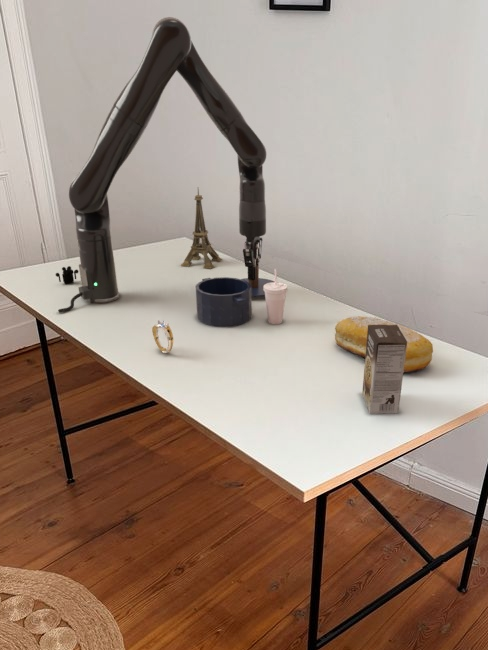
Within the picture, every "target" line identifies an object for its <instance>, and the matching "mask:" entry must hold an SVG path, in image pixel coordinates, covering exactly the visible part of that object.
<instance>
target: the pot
mask: <svg viewBox="0 0 488 650" xmlns="http://www.w3.org/2000/svg"><path fill="white" fill-rule="evenodd" d="M242 279H243V278H238V277H230V276H229V277H227V276H223V277H206V278H201V280H200V281H199V282H198V283H197V284H196V285H195V298H196V299H195V301H196V316H197V320H198V321H199V322H200V323H202V324H204V325H205V326H209V327H215V328H231V327H238V326H241V325H245V324H246V323H248V322H249V321H250V320H251V319H252V316H253V306H252V305H253V304H252V301H253V300H252V298H253V297H252V292H251V285H250V283H249V282H247V281H245V280H242Z"/></svg>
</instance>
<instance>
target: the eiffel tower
mask: <svg viewBox="0 0 488 650" xmlns="http://www.w3.org/2000/svg"><path fill="white" fill-rule="evenodd" d="M203 199H204V197H203V195H200V189H199V188H197V194H196V195H195V196H194V198H193V200H194V201H196V203H195V221H194V231H192V235H193V238H192V244H191V246H190V250H189V251H188V253H187V256H185V259H184V260H183V262H182V263H181V264H180V266H181V267H188V268H189V267H190V266H192V265H193V263H192V260H197V261H198V260H200V258H201V255H202V256H203V262H204V265H203V269H207V270H213V268H214V267H215V265H214V264H213V262H214V263H215V262H216V263H220V262H222V261H223V258H222V257H220V255H219V253H217V252H216V250H215V249H214V247H212V243H210V241H209V236H208V234H209V231H208V229H207V228H206V223H205V217H204V211H203V204H202V200H203ZM200 240H201V241H200ZM200 242H201V243H200ZM200 254H201V255H200ZM208 254H209V256H210V257H211V259H210V257H209V256H208Z"/></svg>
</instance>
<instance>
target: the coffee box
mask: <svg viewBox="0 0 488 650" xmlns="http://www.w3.org/2000/svg"><path fill="white" fill-rule="evenodd" d="M406 349H407V341H406V339H405V337H404V336H403V334H402V332H401V331H400V329H399V327H398V326H397V325H368V332H367V344H366V356H365V358H364V368H363V381H362V393H361V395H362V397H363V400H364V402H365V405H366V407H367V410H368V413H369V414H371V415H373V414H375V415H376V414H377V415H378V414H398V413H399V409H400V400H401V393H402V387H403V386H402V385H403V380H404V373H405V372H404V365H405V357H406Z"/></svg>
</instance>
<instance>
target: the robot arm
mask: <svg viewBox="0 0 488 650" xmlns="http://www.w3.org/2000/svg"><path fill="white" fill-rule="evenodd" d="M153 27H154V28H153V30H152V35H151V38H150V41H149V44H148V46H147V48H146V51H145V53H144V56H143V58H142V59H141V62H140V64H139V66H138V68H137V70H135V72H134V74H133V75H132V76H131V78H130V79H129V80H128V82H127V83H125V85H124V87H123V88H122V90H121V91H120V92H119V94H118V96H116V99H115V101H114V102H113V103H112V106H111V108H110V109H109V112H108V114H107V115H106V118H105V119H104V122H103V124H102V126H101V128H100V130H99V133H98V136H97V138H96V142H95V143H94V147H93V149H92V150H91V151H92V152H91V154H90V156H89V157H88V159H87V160H86V162H85V164H84V165H83V167H82V168H81V170H79V171H80V172H78V174H76V175H75V176H74V178H73V179H72V181H71V182H70V184H69V186H68V190H67V191H68V200H69V202H70V204H71V206H72V208H73V210H74V216H75V217H74V218H75V227H74V228H75V235H76V241H77V248H78V255H79V261H80V263H79V264H78V271H79V276H80V282H81V286H78V293H77V294H76V295H74V296H73V297H72V298H71V300H70V305H69V306H68V307H64V308H58V309H57V311H58V313H65V312H69V311H71V310H73V308H74V306H75V301H76V300H77V299H78V298H80V297H81V298H82V299H83V300H86V301H87V302H88V303H89V304H105V303H111V302H114V301H116V300H118V299H119V298H120V293H119V287H118V279H117V272H116V263H115V256H114V248H113V239H112V232H111V216H110V205H109V197H108V192H109V190H110V187H111V185H112V183H113V180H114V178H115V176H116V175H117V173H118V171H119V170H120V169H121V167H122V166H123V165H124V163H125V162H126V161H127V159H128V158H129V157H130V155H131V154H132V152H133V151H134V149H135V148H136V146H137V145H138V144H139V142H140V140H141V138H142V137H143V134H144V133H145V131H146V130H147V128H148V126H149V124H150V121H151V120H152V118H153V115H154V114H155V112H156V109H157V107H158V105H159V102H160V100H161V97H162V95H163V93H164V90H165V89H166V88H167V86H168V84H169V82H170V81H171V79H172V78H173V76H174V75H175V73H176V72H177V73H178V74H179V75H180V76H181V77H182V79H183V81H185V83H186V84H187V85H188V87H189V88H190V90H191V91H192V93H193V94H194V96H195V97H196V98H197V100H198V102H199V103H200V105H201V107H202V108H203V110H204V111H205V113H206V115H207V116H208V118H209V119H210V121H211V122H212V123H213V124H214V126H215V127H216V129H217V130H218V131H219V132H220V134H221V135H222V136H223V137H224V138H225V139H226V140H227V142H228V143H229V144H230V146H231V147H232V149H233V150H234V152H235V153H236V155H237V157H236V158H237V166H238V167H237V168H238V175H239V202H238V203H239V204H238V224H239V225H238V226H239V227H238V229H239V234H240V235H241V236H243V237H245V241H244V248H243V249H242V254H243V261H244V267H245V268H247V278H248V280H255V279H256V265H258V268H259V267H260V265H259V264H260V261H261V259H262V248H263V236H265V235H266V234H267V204H266V183H265V179H264V175H263V174H264V172H263V169H264V167H263V165H264V164H265V163H266V160H267V148H266V146H265V144H264V143H263V141H262V140H261V139H260V137H259V136H258V134H256V133H255V131H254V130H253V129H252V127H251V126H250V125H249V124H248V122H247V121H246V119H245V117H244V115H243V114H242V112H241V111H240V110H239V108H238V107H237V105H236V104H235V102H234V101H233V100H232V98H231V97H230V95H229V94H228V93H227V92H226V90H225V89H224V88H223V87H222V85H221V84H220V83H219V82H218V80H217V79H216V77H214V75H213V74H212V73H211V70H210V69H208V67H207V66H206V63H205V62H204V61H203V59H202V57H201V56H200V54H199V53H198V51H197V49H196V46H195V44H194V43H193V40H192V37H191V34H190V31H189V29H188V27H187V26H186V24H185V23H184V22H183V21H181V20H180V19H179V18H177V17H172V16H166V17H163V18H161V19H160V20H158V22H156V24H155V25H154V26H153Z"/></svg>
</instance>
